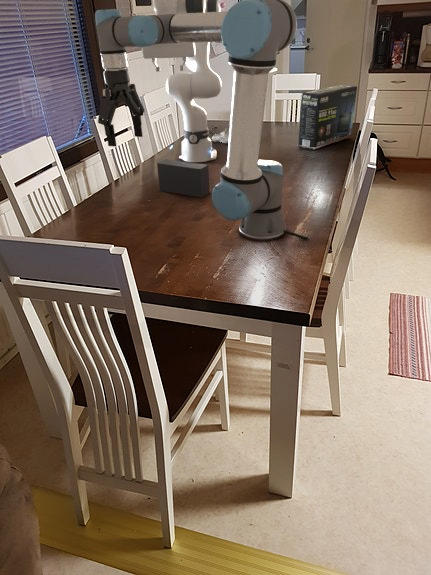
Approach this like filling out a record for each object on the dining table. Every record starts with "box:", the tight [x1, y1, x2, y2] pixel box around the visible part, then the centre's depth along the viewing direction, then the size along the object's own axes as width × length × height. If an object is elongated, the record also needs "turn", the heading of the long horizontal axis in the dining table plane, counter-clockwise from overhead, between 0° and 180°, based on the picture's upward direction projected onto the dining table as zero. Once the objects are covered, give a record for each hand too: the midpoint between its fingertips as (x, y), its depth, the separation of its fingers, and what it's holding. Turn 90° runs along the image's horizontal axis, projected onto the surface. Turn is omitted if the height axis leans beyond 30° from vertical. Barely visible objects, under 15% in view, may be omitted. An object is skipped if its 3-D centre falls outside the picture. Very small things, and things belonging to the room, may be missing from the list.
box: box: [156, 159, 210, 199], centre depth 183 cm, size 20×6×11 cm, turn 60°
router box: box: [297, 84, 358, 151], centre depth 238 cm, size 36×11×27 cm, turn 134°
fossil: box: [211, 127, 230, 144], centre depth 254 cm, size 18×11×15 cm
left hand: (170, 70), depth 178 cm, fingers open, 8 cm apart
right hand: (126, 141), depth 149 cm, fingers open, 13 cm apart
